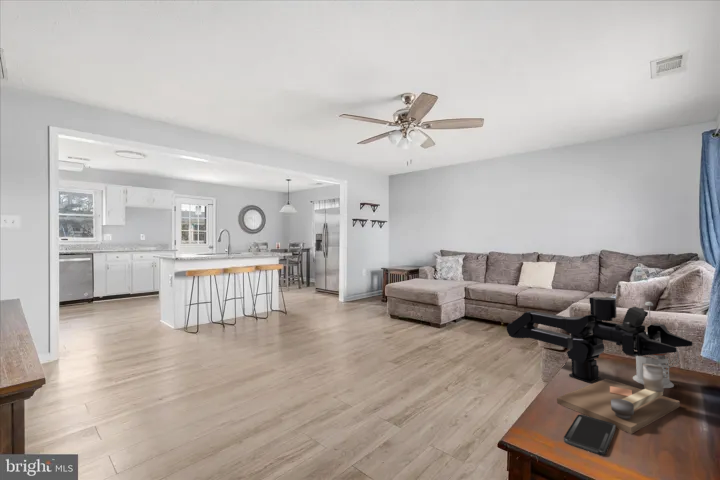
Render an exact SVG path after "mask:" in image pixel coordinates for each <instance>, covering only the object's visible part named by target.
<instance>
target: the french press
mask: <svg viewBox="0 0 720 480" xmlns="http://www.w3.org/2000/svg"><path fill="white" fill-rule="evenodd" d="M644 305H645V306H648V314H649V318H648V319H651V307H653V306H654V304H653V302H652V301H646V302H645V304H644ZM651 323H652V322H651V321H649V326H650V325H652V324H651ZM645 332H646V334H648V333H647V331H645ZM676 353H677V355H676ZM666 354H667V353H663V354H653V355H650V356H652V357H650V356H635V367H636V369H635V371H636V374H635V375H634V376H632V379H633V381H634V382H637V383H638V384H641V385H644V379H643V364H654V365H658V366H661V367H662V368H663V386H664V389H670V388H674V386H675V384H674V383H673V382H672V381H671V380H670V368H672V367H675V366H677V364H678V362H679V360H680V352H679V350H678V349H677V352H673V354H674V356H673V359H672V361H671V362H669V357H668V356H666ZM676 357H677V360H676V362H675V359H676ZM674 362H675V363H674ZM672 363H674V364H673V365H672Z"/></svg>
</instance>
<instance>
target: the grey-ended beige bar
mask: <svg viewBox="0 0 720 480" xmlns="http://www.w3.org/2000/svg"><path fill="white" fill-rule="evenodd" d="M643 379H644V384H643V389H642V390H641V391H639V392H637V393H634V394H632V395H630V396H628V397H626V398H623V399H612V400H611V409H612V410H613V411H614V412H616V413H618V414H622V415H628V416H630V415H634V409H636V408H638V407H640V406H642V405H644V404H646V403H648V402H650V401H652V400H654V399H656V398H658V397H660V396H664V391H665V388H664V386H663V368H662V367H661V366H658V365H654V364H643Z"/></svg>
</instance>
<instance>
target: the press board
mask: <svg viewBox="0 0 720 480" xmlns="http://www.w3.org/2000/svg"><path fill="white" fill-rule="evenodd" d="M641 390H643V389H642V388H638V387H635V386H632V385H628V384H625V383H622V382H618V381H616V380H613V379H610V378H603V379H602V380H599V381H597V382H594V383H591V384H589V385H587V386H582V387H581V388H579V389H576V390H573V391H570V392H568V393H566V394H563V395H560V396H557V397H556V403H557V404H558V405H560V406H563V407H566V408H568V409H570V410H573V411H576V412H577V413H580V414H581V415H585V416H589V417H593V418H596V419H600V420H603V421H607V422H610V423H613V424H615V425H616V429H618V430H620V431H624V432H626V433H628V434H630V435H633V434H634V433H636V432H637V431H639V430H642V429H643V428H645V427H647V426H648V425H650V424H652V423H654V422H656V421H658V420H659V419H660V418H662V417H664V416H666V415H668V414H669V413H671V412H673V411H676V410H677V409H679V408H680V407H681V406H680V405H681V404H680V400H678V399H674V398H670V397H668V396H664V395H662V396H660V397H658V398H656V399H654V400H652V401H650V402H648V403H646V404H644V405H642V406H640V407H638V408H636V409H634V415H630V416H628V415H622V414H618V413H616V412H614V411H613V410H612V409H611V400H612V399H623V398H626V397H628V396H630V395H632V394H634V393H637V392H639V391H641Z"/></svg>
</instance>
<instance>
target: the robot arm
mask: <svg viewBox="0 0 720 480" xmlns="http://www.w3.org/2000/svg"><path fill="white" fill-rule="evenodd" d="M588 300H589V305H590V306H589V307H590V308H589V309H590V314H587V315H584V316H582V315H581V316H578V315H577V316H562V315H557V314H551V313H546V312H540V311H536V310H529V311H524V313H522V315H520V316H519V317H517V318H516V319H515V320H513V321H512V322H509V323H508V324H507V325H506V331H507V334H508V336H509V337H510V338H513V339H531V340H535V341H539V342H543V343H547V344H550V345H554V346H557V347H562V348H566V349H568V351H566V354H567V357H568V360H571V373H569V374H568V376H569V377H570V378H573V379H576V380H581V381H583V382H586V383H593V382H594V381H598V380H600V379H601V376H600V373H599V372H600V371H599V369H600V368H599V365H598V362H597V360H596V359H599V358H600V355H601V354H603V353H604V351H605V344H604V341H606V342H610V343H615V345H616V346H621V348H622V349H621V350H622V352H623V353H624V354H625V355H626V356H629V357H634V358H636V356H642V357H645V356H651V355H653V354H663V353H666V354H670V353H671V354H672V353H673V354H674V352H676V353H677V350H678V348H680V347H681V348H684V347H692V346H693V341H691V340H689V339H687V338H684V337H681V336H679V335H677V334H674V333H671V332H670V331H669V330H668V327H667V326H666V325H665V324H663V323H657V322H656V323H652V324H651V325H650V324H649V326H647V327H646V325H644V322H645V319H646V317H647V316H648V314H649V311H646V310H645V308H642V307H638V306H633V307H632V306H631V307H629V308H628V309H627V311H626V313H625V315H624V318H623V319H622V320H623V321H622V323H621V324H620V323H616V322H615V323H614V322H611V321H613V319H616V318H617V317H618V316H617V298H615V297H609V296H606V297H605V296H604V297H600V296H598V297H595V296H592V297H589V299H588ZM536 324H537V325H543V326H546V327H552V328H556V329H560V330H563V331H565V332H566V333H568V334H565V333H562V332H557V331H553V330H550V329H549V330H548V329H543V328H540V327H535V325H536ZM646 328H647V331H646ZM646 332H647V333H648V334H646ZM569 334H570V335H569ZM677 347H678V348H677Z"/></svg>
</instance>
